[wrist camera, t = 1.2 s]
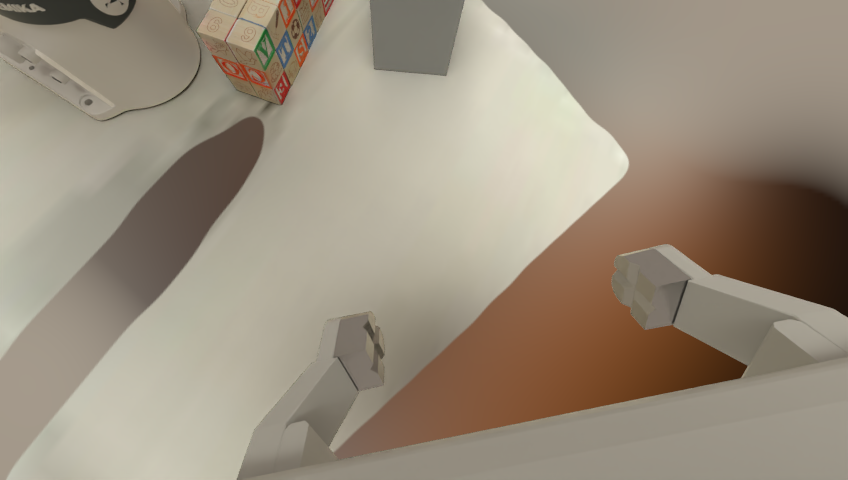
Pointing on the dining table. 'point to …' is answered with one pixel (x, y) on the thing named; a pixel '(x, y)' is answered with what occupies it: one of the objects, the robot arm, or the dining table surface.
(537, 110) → the dining table surface
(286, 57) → the stack of blocks
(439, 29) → the slate-grey stand
